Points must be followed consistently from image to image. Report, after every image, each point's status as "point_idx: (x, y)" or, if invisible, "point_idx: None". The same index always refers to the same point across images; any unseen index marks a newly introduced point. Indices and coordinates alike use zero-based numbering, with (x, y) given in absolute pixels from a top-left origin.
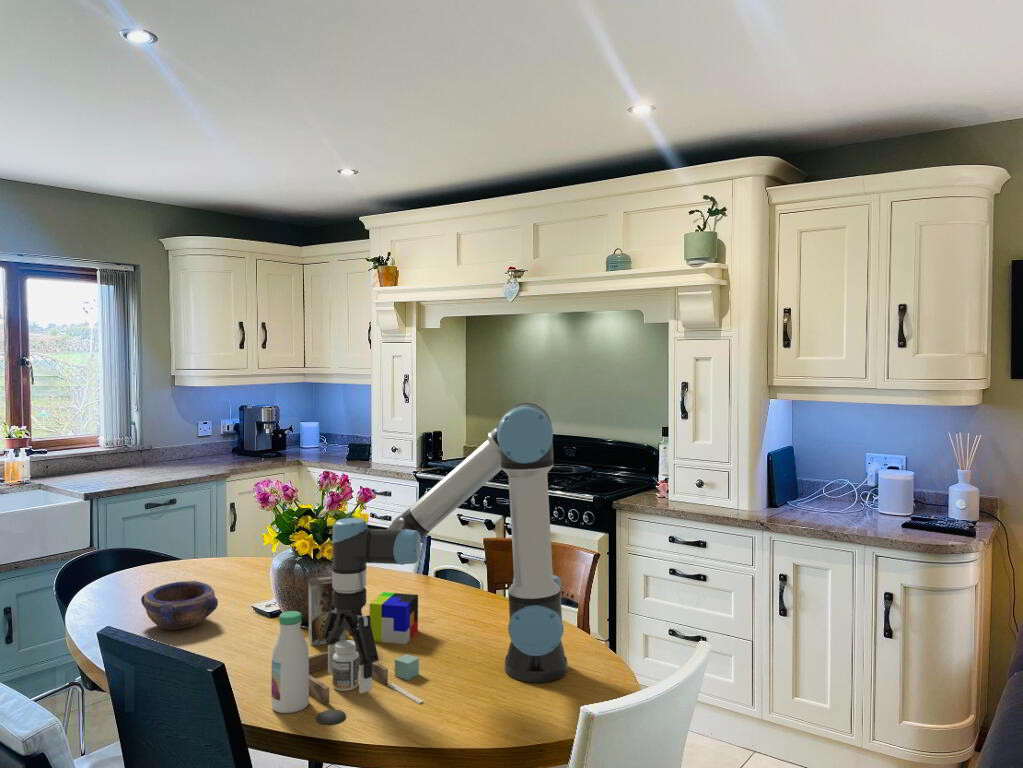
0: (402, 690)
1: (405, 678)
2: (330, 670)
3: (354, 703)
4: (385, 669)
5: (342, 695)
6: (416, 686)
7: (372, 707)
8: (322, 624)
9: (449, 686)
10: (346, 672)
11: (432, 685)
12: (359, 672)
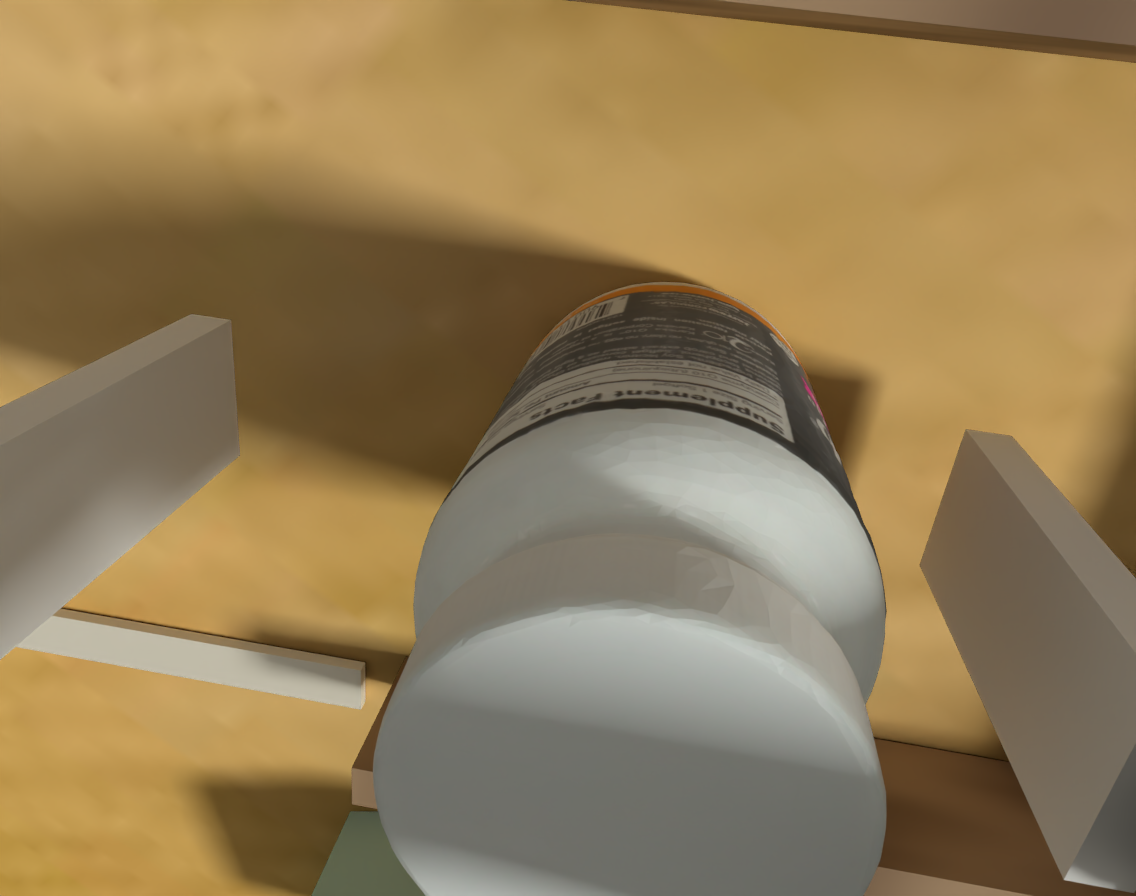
0: (172, 659)
1: (371, 819)
2: (972, 458)
3: (238, 211)
4: (352, 780)
5: (500, 249)
6: (204, 772)
7: (49, 279)
8: None
9: (63, 880)
10: (491, 423)
11: (147, 838)
12: (52, 411)
